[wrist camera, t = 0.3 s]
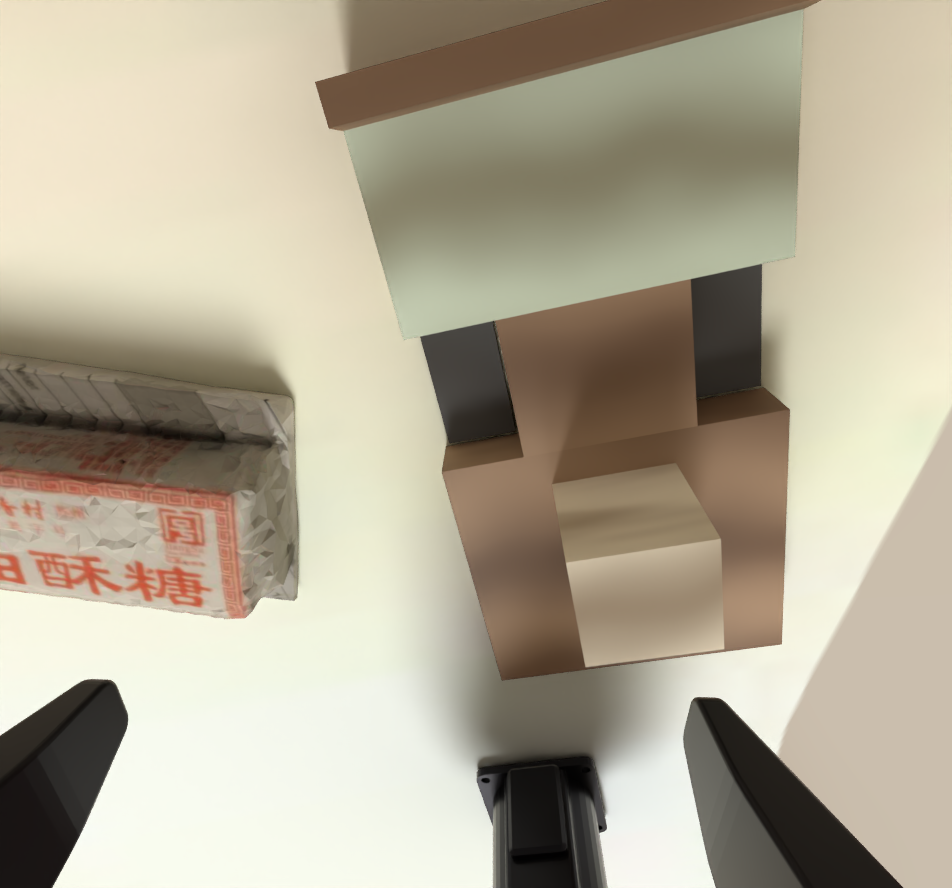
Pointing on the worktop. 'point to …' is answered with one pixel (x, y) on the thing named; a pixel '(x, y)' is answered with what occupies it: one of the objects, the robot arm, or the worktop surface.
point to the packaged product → (145, 489)
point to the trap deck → (592, 280)
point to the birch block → (641, 565)
